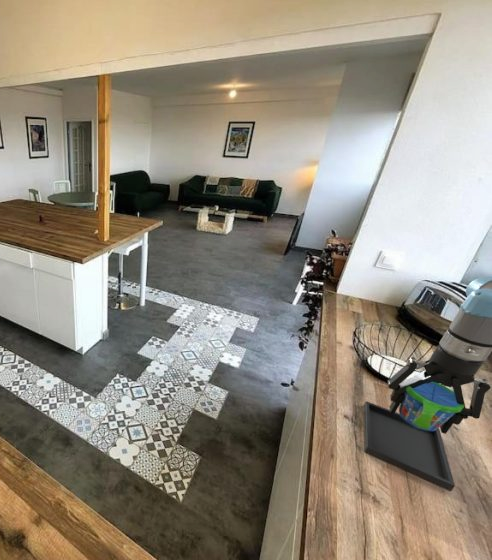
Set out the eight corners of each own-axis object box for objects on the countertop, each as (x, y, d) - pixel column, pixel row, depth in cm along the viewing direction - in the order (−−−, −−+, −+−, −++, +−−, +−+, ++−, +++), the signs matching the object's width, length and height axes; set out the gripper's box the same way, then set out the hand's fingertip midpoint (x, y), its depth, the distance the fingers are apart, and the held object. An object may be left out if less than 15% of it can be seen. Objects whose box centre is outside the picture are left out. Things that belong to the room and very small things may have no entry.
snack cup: (399, 394, 90) (415, 367, 85) (450, 419, 82) (470, 391, 78) (381, 421, 81) (398, 392, 77) (436, 451, 74) (458, 421, 69)
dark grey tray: (435, 433, 88) (439, 428, 88) (450, 491, 74) (455, 486, 73) (363, 405, 97) (365, 400, 96) (364, 452, 83) (367, 447, 82)
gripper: (400, 342, 75) (364, 408, 85) (541, 383, 63) (480, 453, 73) (397, 328, 80) (364, 391, 90) (526, 363, 69) (472, 431, 79)
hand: (416, 419), depth 82 cm, fingers closed on snack cup, 9 cm apart
